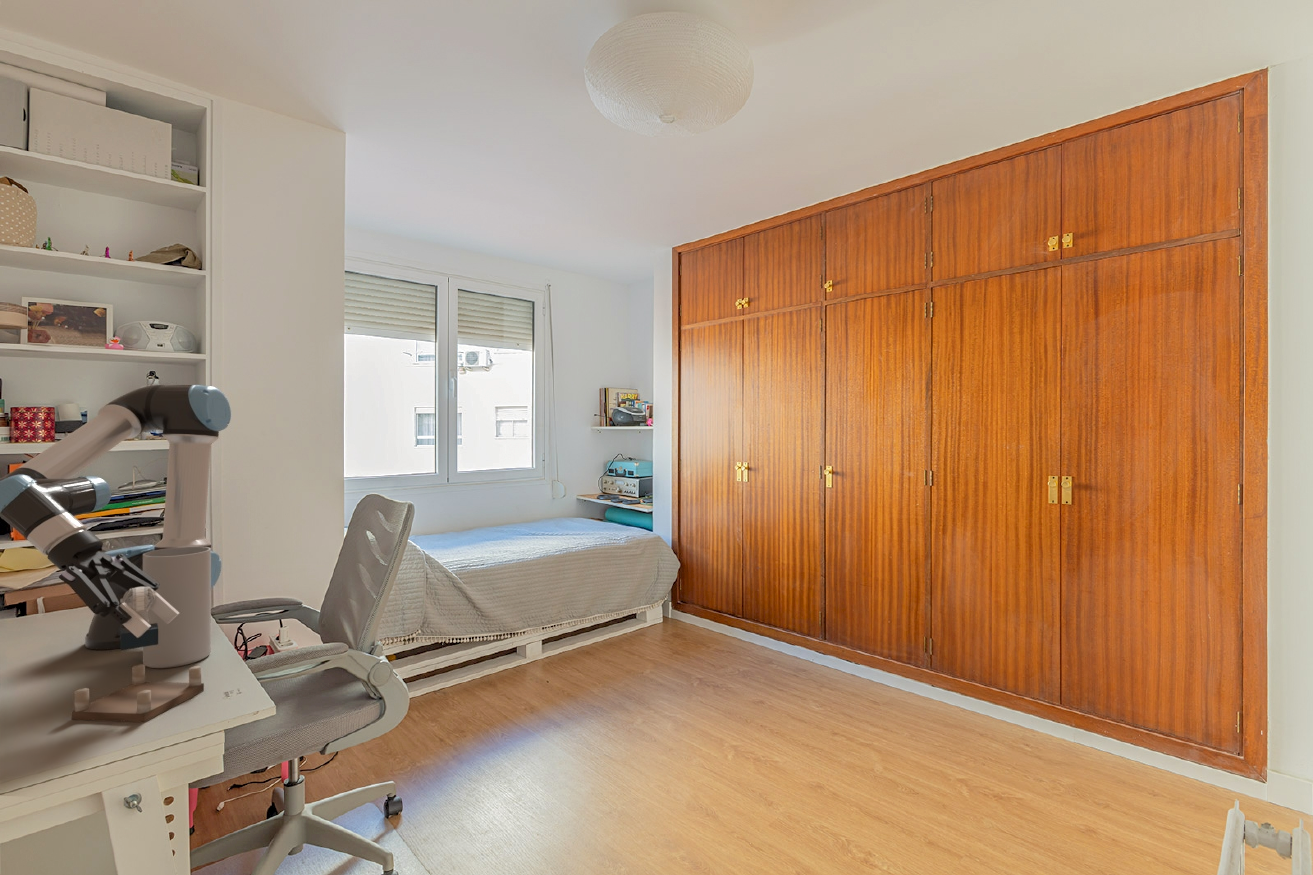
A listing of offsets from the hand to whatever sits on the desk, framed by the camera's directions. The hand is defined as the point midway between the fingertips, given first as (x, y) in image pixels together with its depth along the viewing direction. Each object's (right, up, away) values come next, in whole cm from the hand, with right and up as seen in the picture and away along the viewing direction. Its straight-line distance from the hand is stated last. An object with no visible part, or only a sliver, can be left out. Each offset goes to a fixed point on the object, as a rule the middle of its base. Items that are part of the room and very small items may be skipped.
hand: (159, 624), depth 123 cm
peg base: (-3, -15, 0) cm, 16 cm away
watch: (-3, -4, -1) cm, 5 cm away
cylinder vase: (-14, -15, +24) cm, 32 cm away
